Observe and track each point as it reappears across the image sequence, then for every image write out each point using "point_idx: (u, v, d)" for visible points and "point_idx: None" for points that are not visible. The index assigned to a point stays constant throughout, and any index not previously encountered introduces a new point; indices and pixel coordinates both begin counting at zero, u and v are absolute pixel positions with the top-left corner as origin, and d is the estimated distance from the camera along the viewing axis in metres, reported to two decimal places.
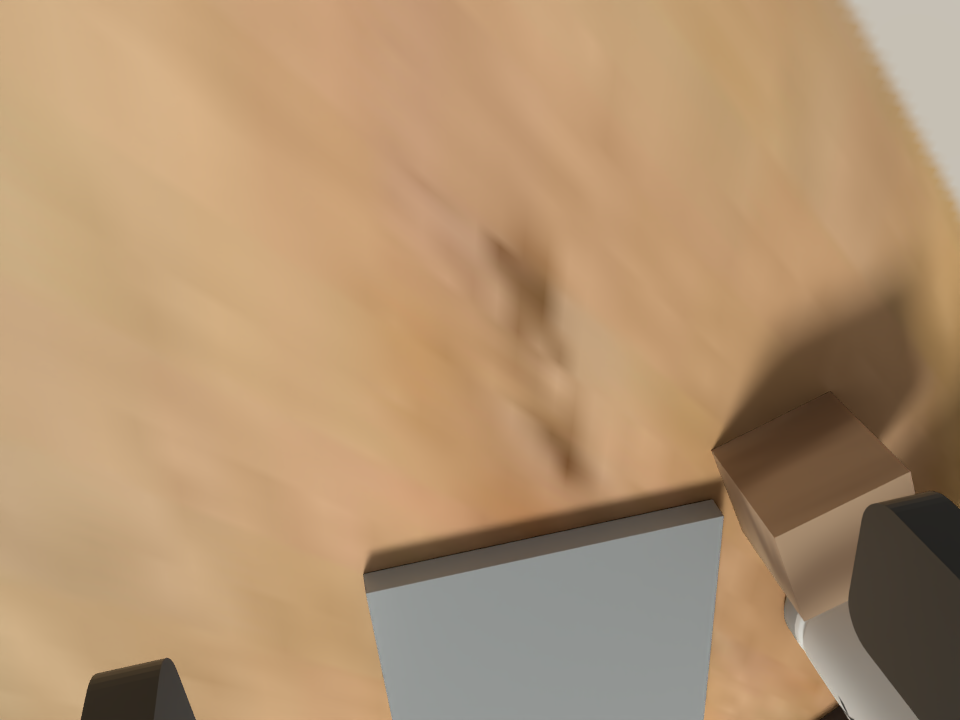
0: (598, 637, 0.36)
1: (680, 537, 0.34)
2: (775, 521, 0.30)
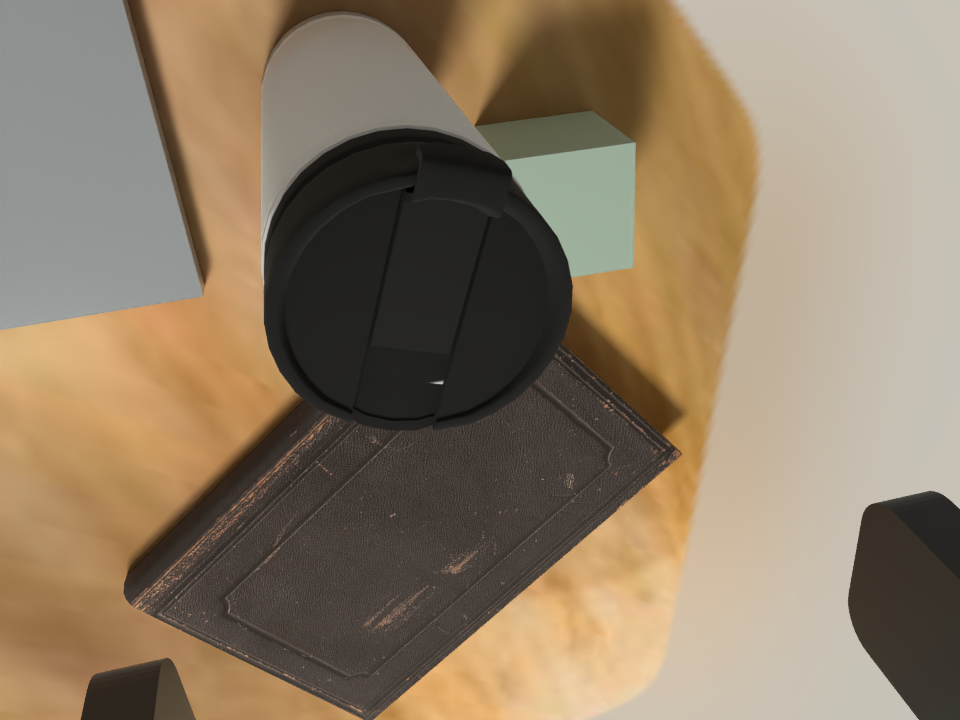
0: None
1: None
2: None
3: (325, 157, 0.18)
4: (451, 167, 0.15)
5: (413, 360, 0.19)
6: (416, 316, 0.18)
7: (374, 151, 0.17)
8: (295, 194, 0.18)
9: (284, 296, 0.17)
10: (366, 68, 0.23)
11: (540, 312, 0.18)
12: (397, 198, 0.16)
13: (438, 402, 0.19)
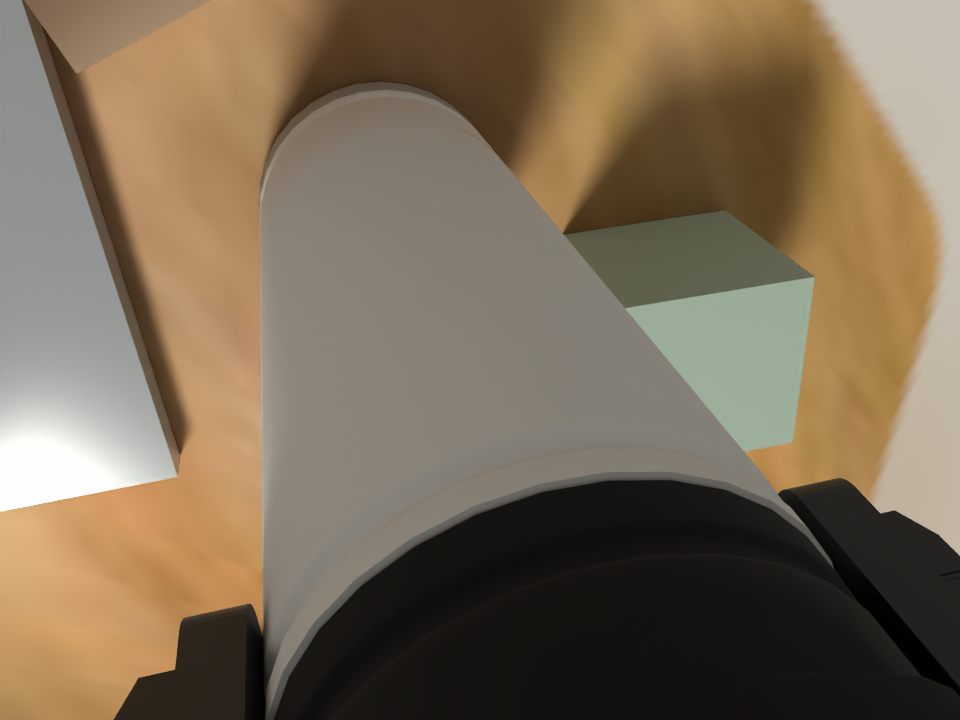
0: None
1: None
2: None
3: (421, 569, 0.07)
4: None
5: None
6: None
7: (562, 609, 0.06)
8: (349, 662, 0.07)
9: None
10: (453, 234, 0.13)
11: None
12: None
13: None
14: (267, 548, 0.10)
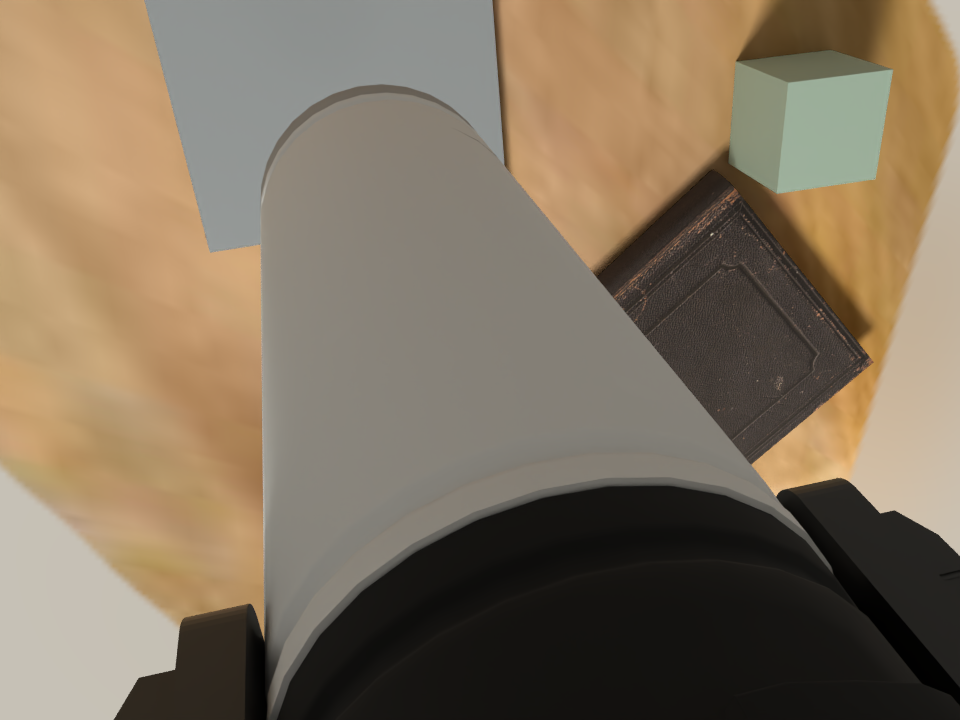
0: (375, 28, 0.37)
1: None
2: None
3: (422, 574, 0.07)
4: None
5: None
6: None
7: (563, 615, 0.07)
8: (350, 667, 0.07)
9: None
10: (454, 238, 0.13)
11: None
12: None
13: None
14: (268, 552, 0.10)
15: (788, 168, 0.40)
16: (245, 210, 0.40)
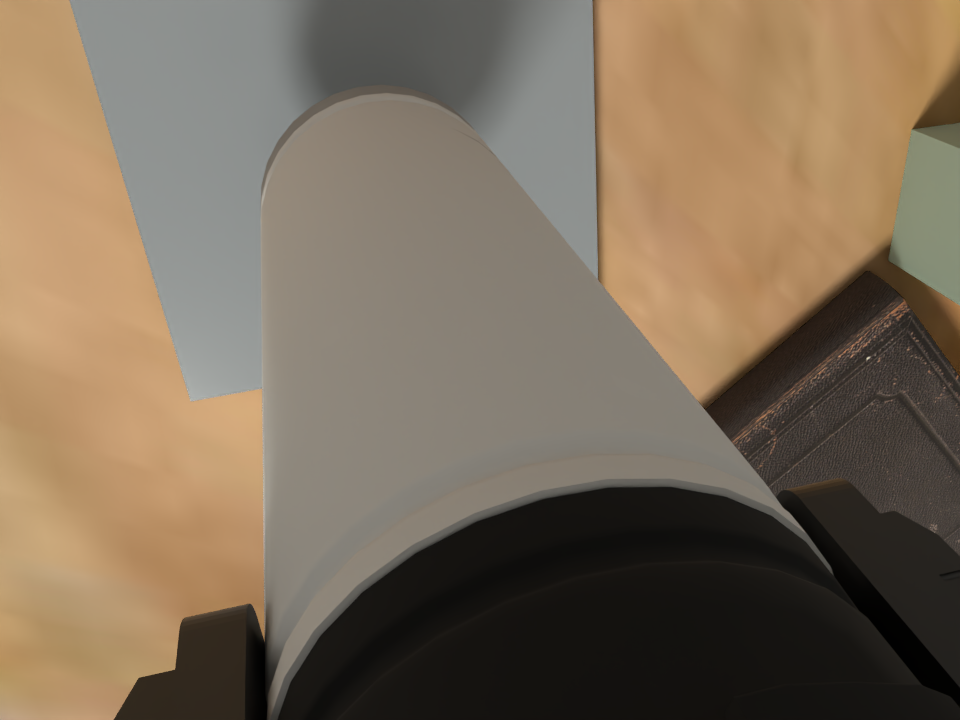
0: None
1: None
2: None
3: (422, 575, 0.07)
4: None
5: None
6: None
7: (563, 617, 0.07)
8: (350, 668, 0.07)
9: None
10: (454, 239, 0.13)
11: None
12: None
13: None
14: (268, 553, 0.10)
15: None
16: (240, 345, 0.28)
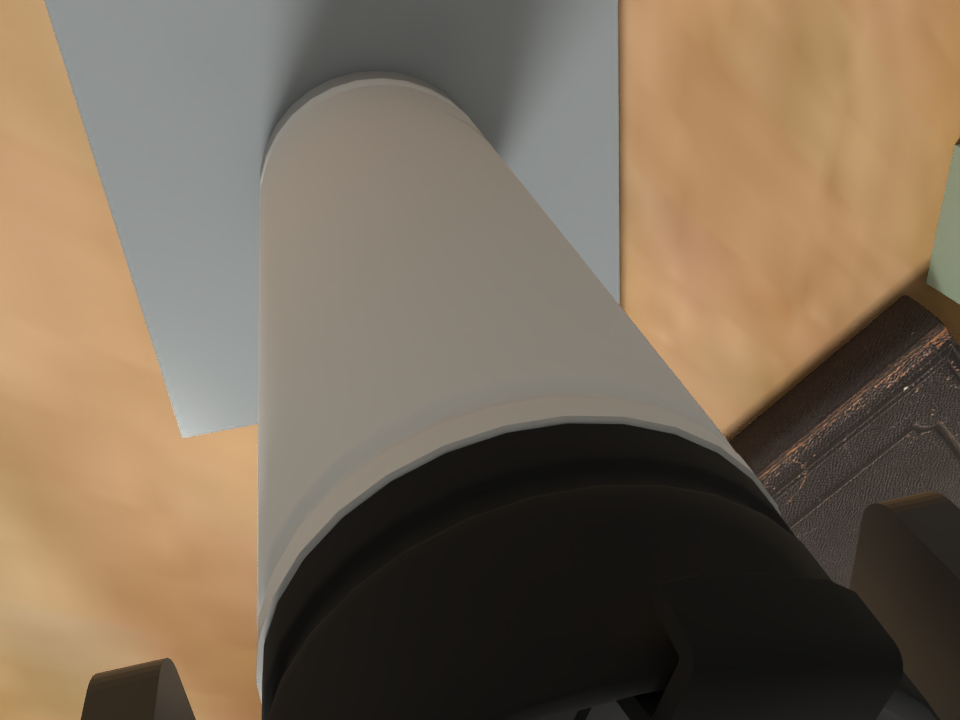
0: None
1: None
2: None
3: (396, 500, 0.08)
4: (762, 669, 0.06)
5: None
6: None
7: (518, 528, 0.07)
8: (331, 583, 0.08)
9: None
10: (438, 210, 0.14)
11: None
12: None
13: None
14: (261, 496, 0.11)
15: None
16: (235, 378, 0.26)
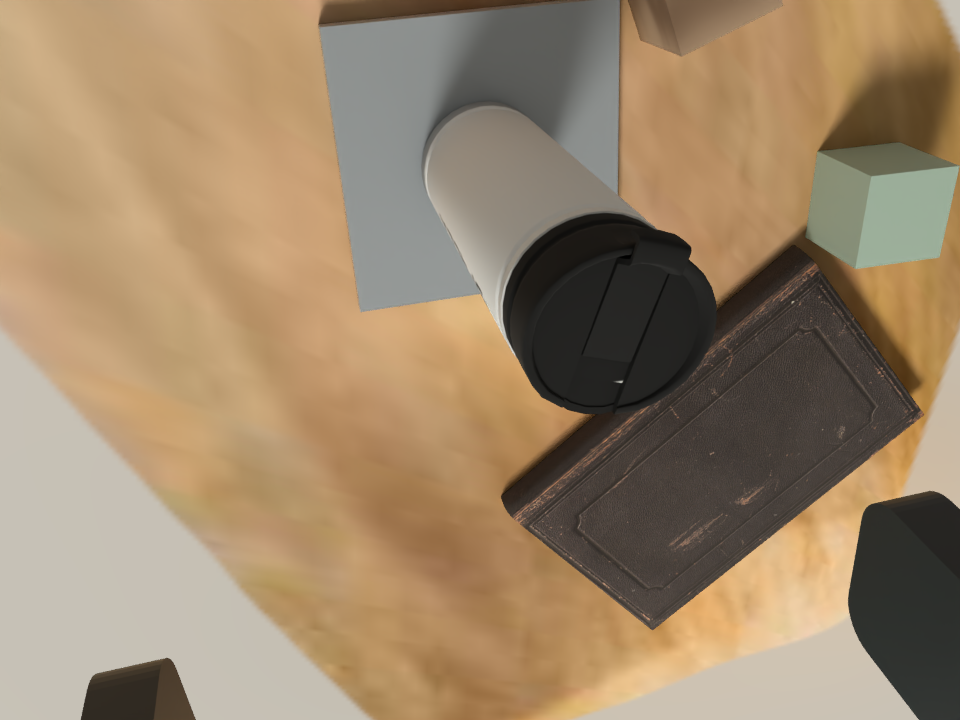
0: None
1: (584, 15, 0.41)
2: None
3: (555, 231, 0.27)
4: (656, 244, 0.25)
5: (605, 366, 0.28)
6: (613, 337, 0.27)
7: (594, 230, 0.26)
8: (535, 255, 0.27)
9: (536, 322, 0.26)
10: (546, 160, 0.33)
11: (692, 335, 0.28)
12: (614, 261, 0.26)
13: (618, 395, 0.28)
14: (490, 256, 0.30)
15: (866, 247, 0.46)
16: (394, 276, 0.45)
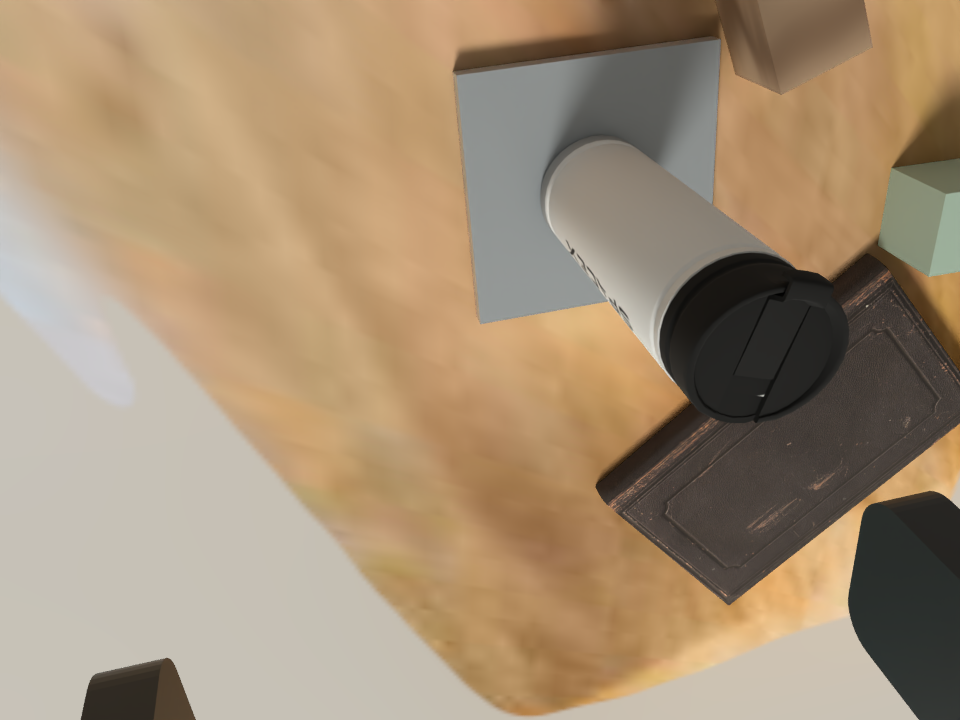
0: None
1: (688, 56, 0.46)
2: None
3: (708, 270, 0.32)
4: (805, 284, 0.30)
5: (751, 383, 0.33)
6: (760, 359, 0.32)
7: (746, 270, 0.31)
8: (692, 291, 0.32)
9: (698, 349, 0.31)
10: (679, 199, 0.37)
11: (825, 356, 0.32)
12: (766, 297, 0.30)
13: (760, 406, 0.33)
14: (641, 288, 0.35)
15: (939, 257, 0.50)
16: (511, 291, 0.50)
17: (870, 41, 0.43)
